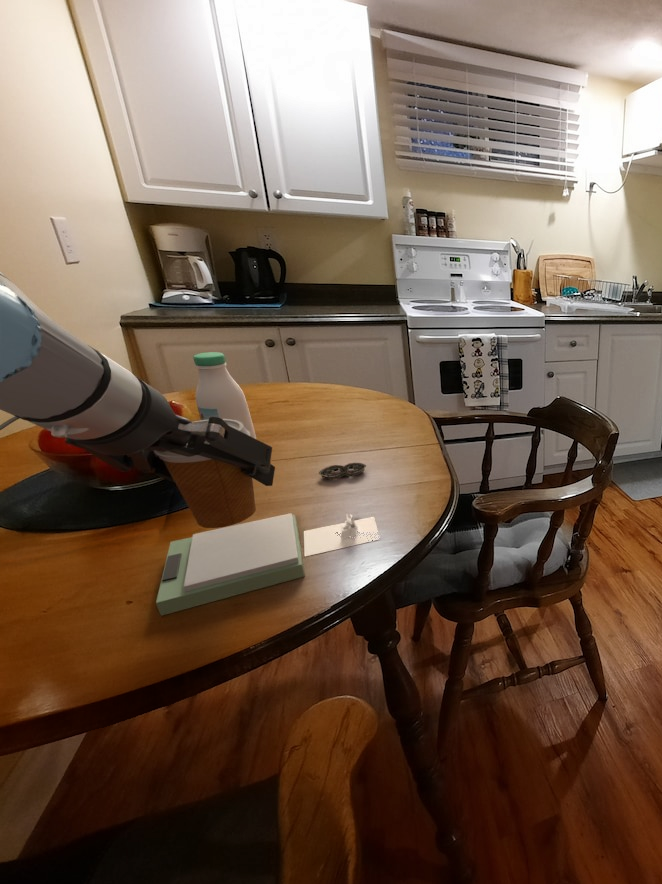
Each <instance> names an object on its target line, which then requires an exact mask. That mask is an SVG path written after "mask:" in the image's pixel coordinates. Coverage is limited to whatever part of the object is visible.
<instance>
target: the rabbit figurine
mask: <svg viewBox="0 0 662 884" xmlns="http://www.w3.org/2000/svg"><path fill="white" fill-rule="evenodd" d="M349 516H350V517H349ZM345 519H346V520H344V522H343V523H344V525H342V526H341V527H340V533H341V534H340V536H341V537H340V539H341V540H342V539H345V538H348V537H349V536H351V538H352V537H353V538H354V537H356V533H357V531H359V527H358V525H357V523H356V522H355V519H354V516H353V514H351V513H349V514H348V513H345Z"/></svg>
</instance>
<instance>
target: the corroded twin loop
mask: <svg viewBox="0 0 662 884" xmlns="http://www.w3.org/2000/svg"><path fill="white" fill-rule="evenodd" d="M366 467H367V465H366V464H364V463H361V462H349V463H347V464H345V465H341V464H333V465H329V466H327V467H324V468H322V469H320V470H319V471H318V475H320V476H321V478H323V479H326V480H327V479H328V480H331V481H333V480H337V479H340V478H342V477H344V476H346V477H355V476H358V475H360V474H362V473H363V472H364V471H365V468H366Z"/></svg>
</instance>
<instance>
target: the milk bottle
mask: <svg viewBox="0 0 662 884" xmlns="http://www.w3.org/2000/svg"><path fill="white" fill-rule="evenodd" d="M192 359H193V362H194V365H195V368H196V369H197V370H198V381H197V385H196V389H195V404H196V407H197V411H198V414H199V418H200V420H209V418H210V417H218V418H221V419H231V420H237V421H240V422H241V423H242V424H243V425H244V427H245V428H246V429H247V430H248V431H249V432H250V435H251V437H253V438H255V439H257V436H256V432H255V427H254V424H253V420H252V417H251V413H250V409H249V405H248V402H247V399H246V396H245V393H244V391H243V389H242V388H241V386H240V385H239V384H238V383H237V382H236V380H235V379H234V378H233V376H232V375H231V374H230V372H229V371H228V369H227V365H228V363H227V360H226V357H225V354H224V353H223V352H219V351H210V352H209V351H207V352H200V353H197V354H195V355H193V357H192Z"/></svg>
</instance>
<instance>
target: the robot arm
mask: <svg viewBox="0 0 662 884" xmlns="http://www.w3.org/2000/svg"><path fill="white" fill-rule="evenodd" d="M0 411H3V412H4V413H7V414H10V415H12V416H13V417H11V418H8V420H6V421H4V422H2V423H1V424H0V431H2V430H3V429H5V428H6V427H8V426H9V425H11V424H12V423H14V422H16V421H18V420H20V419H21V420H23V421H26V422H28V423H31V424H33V425H36V426H38V427H40V428H42V429H44V430H47V431H48V432H50V435H51V436H52V437H54V438H59V439H63V438H65V439H64V443H65V444H68V445H70V446H73V447H76V448H78V449H82V450H84V451H85V452H87V453H88V454H91V456H94V457H95V458H97V459H98V460H100V461H101V462H103V463H105V464H106V465H108V466H110V467H112V468H113V469H115V470H117V471H118V472H119V471H120V472H122V473H126V472H131V470H132V469H137V471H138V472H140V473H144V474H148V473H149V474H150V473H153V474H154V475H156V476H158V477H160V478H163V479H165V480H167V481H170V482H172V483H174V484H176V483H175V482H174V480H173V478H172V476H171V474H170V473H169V470H168V469H167V467H166V465H165V464H164V461H163V460H162V459H160V458H159V456H157V455H156V454H155V453H154V451H153V450H156V451H160V452H166V451H169V452H172V453H176V454H180V455H183V456H187V457H191V456H195V455H199V456H203V457H206V458H210V459H213V460H217V461H221V462H224V463H228V464H231V465H235V466H238V467H242V468H241V472H243V473H245V475H248V476H250V477H252V480H255V481H257V482H258V483H260V484H262V485H264V486H266V487H273V483H274V477H275V470H276V466H275V465H273V464H272V462H271V460H272V453H273V447H272V446H271V445H269V444H267V443H265V442H263V441H261V440H258V439H257V438H256V439H255V438H253V437H251V436H249V435H247V434H245V433H243V432H241V431H239V430H237V429H235V428H233V427H231V426H229V425H228V424H227V423H226V422H225V421H224V420H223V419H221V418H218V417H210V418H209V420H208V423H207V424H198V423H192V422H193V421H192V420H191V419H188V418H186V417H184V416H181V415H179V414H175V412H174V410H173V409H172V407H171V404H170V403H169V400H168V399H167V397H165V396H164V394H162V393H161V392H160V391H158V390H157V389H155V388H154V387H153V386H151V385H150V384H147V383H146V382H145V381H143V380H142V379H140V377H137V376H136V375H134V374H133V372H131V371H130V370H129V369H127V368H125V367H123V366H122V365H120V364H119V363H118V362H116V361H114V360H113V359H111V357H109V356H107V355H105V354H104V353H103V352H101V351H99V350H97V349H96V348H94V347H92V346H91V345H88V344H87V343H85V342H84V341H83V340H81V339H80V338H78V337H77V336H76V335H74V334H73V333H71V332H70V331H69V330H68V329H66V328H64V327H63V326H62V325H60V324H59V323H57V322H56V321H55V320H53V319H52V317H50V316H48V315H47V314H46V313H45V312H44V311H43V310H42V309H40V307H38V305H36V303H34V301H32V299H30V298H29V297H28V296H27V294H25V293H24V292H23V290H22V289H20V288H19V287H18V286H17V284H15V283H14V282H12V281H11V280H10V279H8V277H7V276H5V274H4V273H3V272H2V271H0ZM187 443H188V444H187ZM186 445H187V448H186V447H185V446H186Z"/></svg>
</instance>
